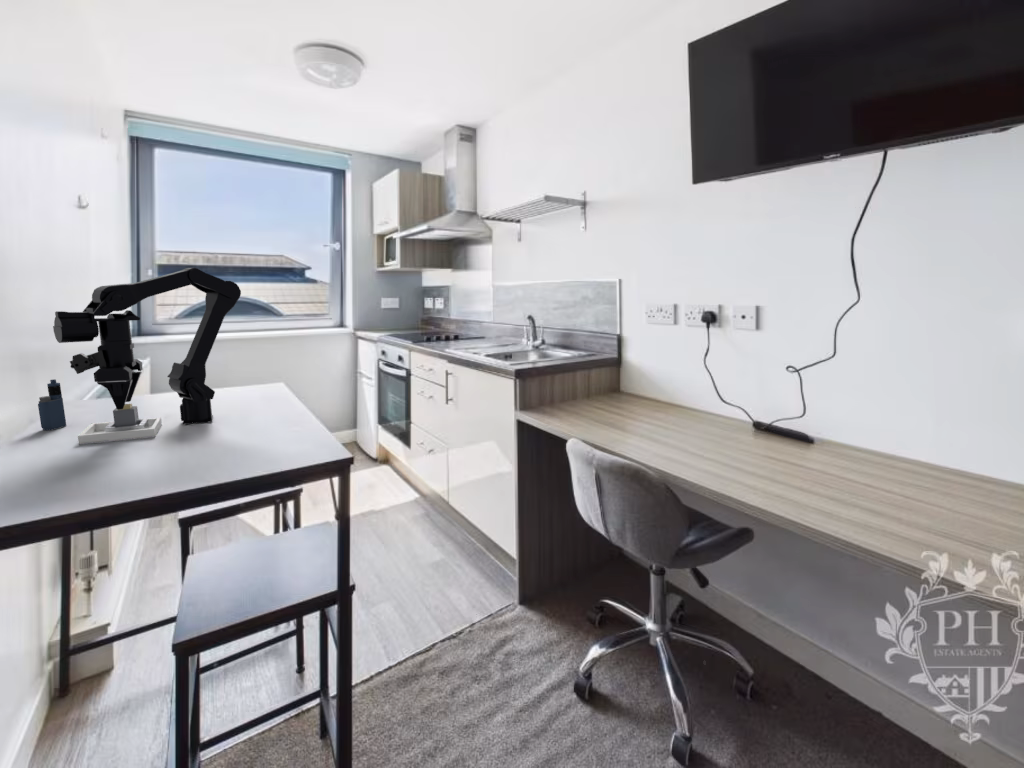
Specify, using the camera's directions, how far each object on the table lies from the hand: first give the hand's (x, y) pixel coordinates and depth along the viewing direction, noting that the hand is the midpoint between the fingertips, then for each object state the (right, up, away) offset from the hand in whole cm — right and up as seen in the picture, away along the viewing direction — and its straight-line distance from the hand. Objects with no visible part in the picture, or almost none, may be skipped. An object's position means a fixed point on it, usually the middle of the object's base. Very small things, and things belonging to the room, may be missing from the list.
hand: (124, 405), depth 118 cm
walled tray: (-1, -7, +1) cm, 7 cm away
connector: (0, -7, +1) cm, 7 cm away
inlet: (0, -7, +1) cm, 7 cm away
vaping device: (-22, -6, +5) cm, 23 cm away
